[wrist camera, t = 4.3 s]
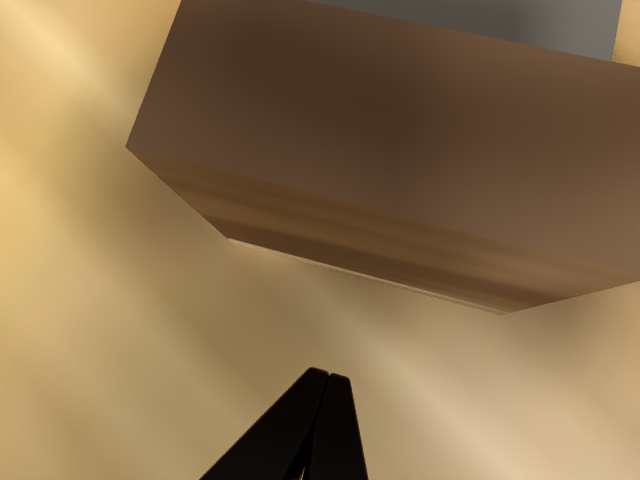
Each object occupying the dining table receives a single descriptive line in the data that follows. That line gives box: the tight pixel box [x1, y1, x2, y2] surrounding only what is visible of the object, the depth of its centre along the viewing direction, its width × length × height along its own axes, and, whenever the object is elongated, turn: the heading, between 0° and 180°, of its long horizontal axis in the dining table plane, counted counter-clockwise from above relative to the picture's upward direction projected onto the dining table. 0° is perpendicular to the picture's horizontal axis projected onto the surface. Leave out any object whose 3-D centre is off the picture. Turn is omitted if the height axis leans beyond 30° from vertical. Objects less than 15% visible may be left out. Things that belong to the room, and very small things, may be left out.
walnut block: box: [125, 0, 640, 315], centre depth 14 cm, size 4×10×9 cm, turn 74°
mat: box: [306, 0, 622, 61], centre depth 20 cm, size 12×14×1 cm
